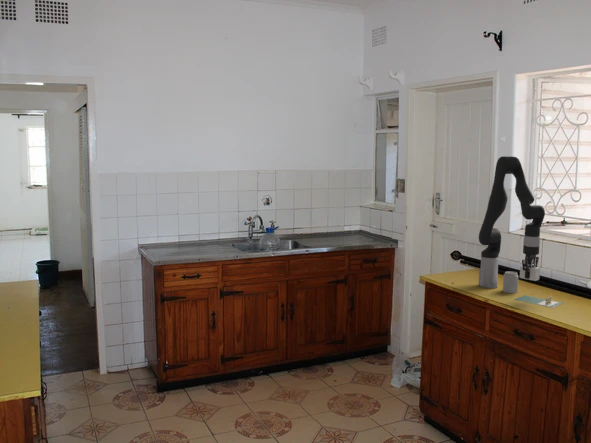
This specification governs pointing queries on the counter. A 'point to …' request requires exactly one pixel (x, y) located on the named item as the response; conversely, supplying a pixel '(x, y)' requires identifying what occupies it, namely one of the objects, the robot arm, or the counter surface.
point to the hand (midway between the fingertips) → (529, 277)
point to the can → (510, 282)
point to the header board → (539, 301)
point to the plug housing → (531, 273)
